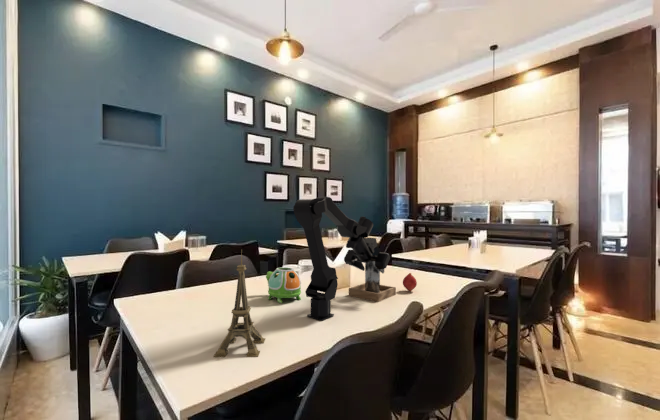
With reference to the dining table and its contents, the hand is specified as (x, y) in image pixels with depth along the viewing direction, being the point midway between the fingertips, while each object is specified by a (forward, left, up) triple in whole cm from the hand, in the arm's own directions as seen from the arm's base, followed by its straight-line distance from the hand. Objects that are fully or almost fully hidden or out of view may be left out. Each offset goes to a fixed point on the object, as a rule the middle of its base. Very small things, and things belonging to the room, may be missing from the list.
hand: (373, 271), depth 134 cm
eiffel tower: (-66, -1, -10) cm, 67 cm away
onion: (+15, -9, -10) cm, 20 cm away
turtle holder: (-28, +25, -10) cm, 39 cm away
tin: (-1, 0, -9) cm, 9 cm away
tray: (-1, 0, -10) cm, 10 cm away
